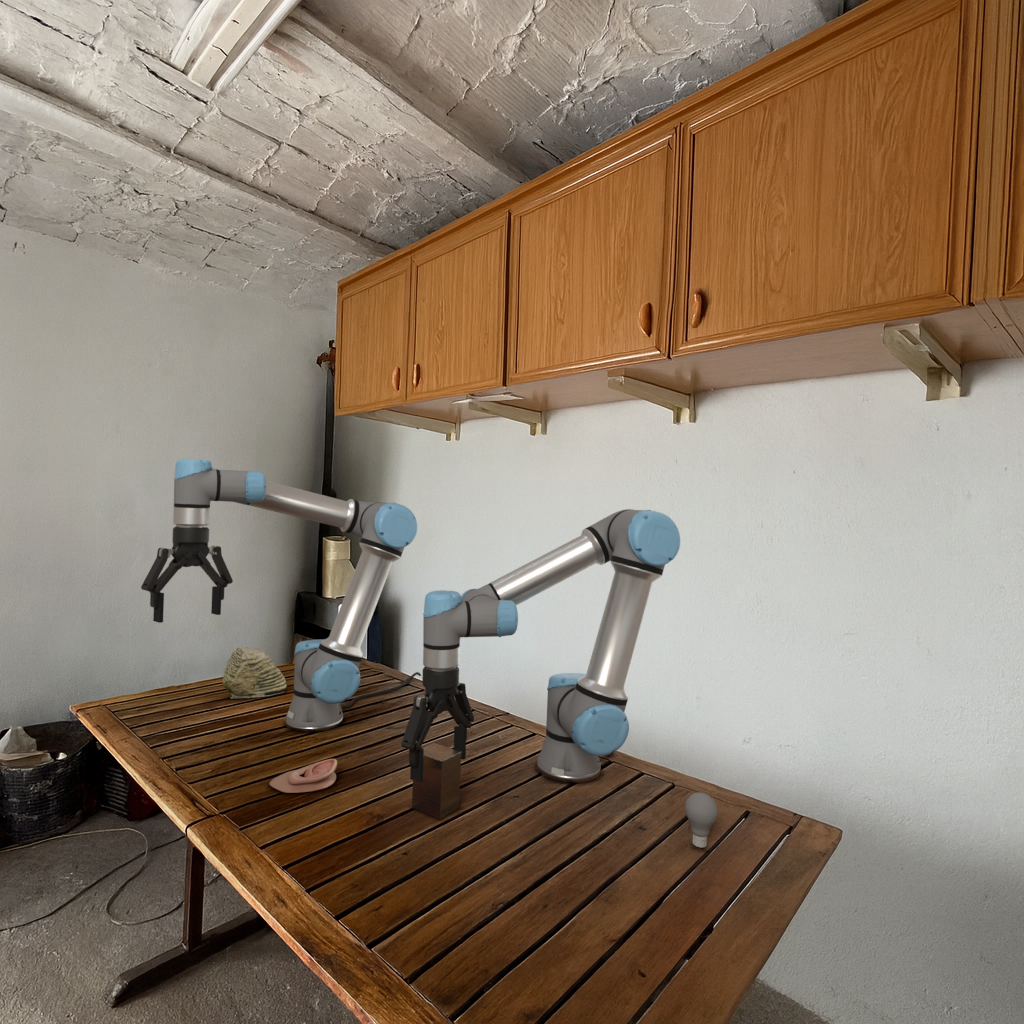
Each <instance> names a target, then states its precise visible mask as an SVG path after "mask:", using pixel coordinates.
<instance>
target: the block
mask: <svg viewBox="0 0 1024 1024" xmlns="http://www.w3.org/2000/svg"><path fill="white" fill-rule="evenodd" d="M422 748H423V749H424V756H423V782H421V783H420V782H417V781H414V780H412V794H411V795H412V796H411V809H414V810H416V811H419V812H421V813H423V814H426V815H428V816H431V817H433V818H435V819H437V820H441V819H443V818H445V817H446V816H448V815H450V814H452V813H453V812H455V811H456V810H458V809H460V796H461V795H460V793H461V769H462V765H461V764H462V759H461V752H460V751H457V750H454V748H451V747H448V746H445V745H441V744H438V743H436V742H432V743H430V744H428V745H426V746H423V747H422Z"/></svg>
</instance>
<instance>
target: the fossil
mask: <svg viewBox="0 0 1024 1024" xmlns="http://www.w3.org/2000/svg"><path fill="white" fill-rule="evenodd" d="M222 676H223V677H222V685H223V687H224V688H225V690H226V691H228V693H229V698H230V699H250V698H264V697H271V696H275V695H281V694H284V693H285V691H286V689H287V687H288V686H287V680H286V678H285V676H284V674H283V673H282V672H281V669H279V668H278V667H277V665H276V663H275V662H274V660H273V659H272V658H271V657H270V656H269V655H268V654H267V653H266V652H265V650H264V649H263V648H260V647H258V648H251V647H247V646H246V647H245V646H238V647H237V648H236V649H235V650H233V651H232V653H231V656H230V657H229V659H228V660H227V663H226V666H225V668H224V671H223V675H222Z"/></svg>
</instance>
